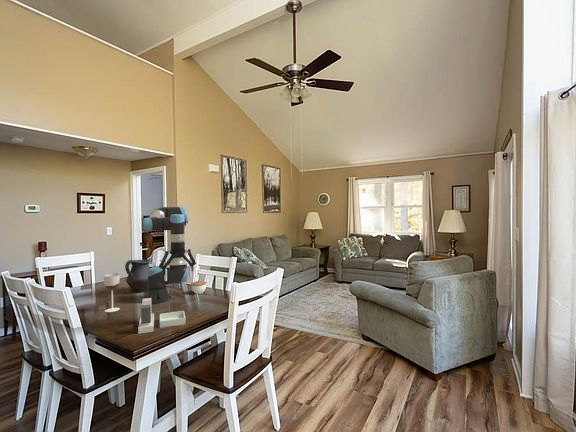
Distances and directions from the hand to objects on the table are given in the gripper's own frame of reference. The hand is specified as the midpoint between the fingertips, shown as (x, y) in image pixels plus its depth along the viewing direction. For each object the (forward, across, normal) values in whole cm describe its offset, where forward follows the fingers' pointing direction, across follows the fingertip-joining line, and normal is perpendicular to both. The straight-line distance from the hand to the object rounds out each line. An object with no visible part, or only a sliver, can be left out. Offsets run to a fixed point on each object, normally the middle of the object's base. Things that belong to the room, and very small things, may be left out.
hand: (178, 278), depth 171 cm
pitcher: (+23, -4, +80) cm, 83 cm away
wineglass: (+23, -27, +44) cm, 56 cm away
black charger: (+20, -18, -4) cm, 28 cm away
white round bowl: (+23, +30, +47) cm, 60 cm away
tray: (+23, -4, -1) cm, 24 cm away
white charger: (+20, -15, +8) cm, 26 cm away
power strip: (+23, -16, +5) cm, 29 cm away
